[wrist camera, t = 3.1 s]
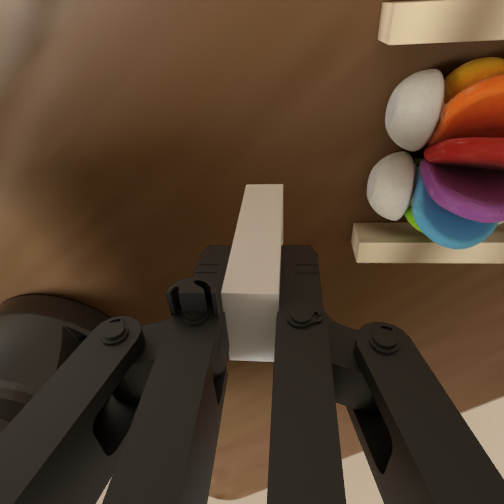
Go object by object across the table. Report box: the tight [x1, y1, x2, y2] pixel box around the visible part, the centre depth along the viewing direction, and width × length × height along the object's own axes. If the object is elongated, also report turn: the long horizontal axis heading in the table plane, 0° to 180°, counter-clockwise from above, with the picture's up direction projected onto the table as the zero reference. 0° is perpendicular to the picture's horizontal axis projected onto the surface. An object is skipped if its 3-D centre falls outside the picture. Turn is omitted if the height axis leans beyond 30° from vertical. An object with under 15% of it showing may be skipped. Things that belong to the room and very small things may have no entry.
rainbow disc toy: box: [367, 57, 504, 249], centre depth 19 cm, size 8×10×7 cm
